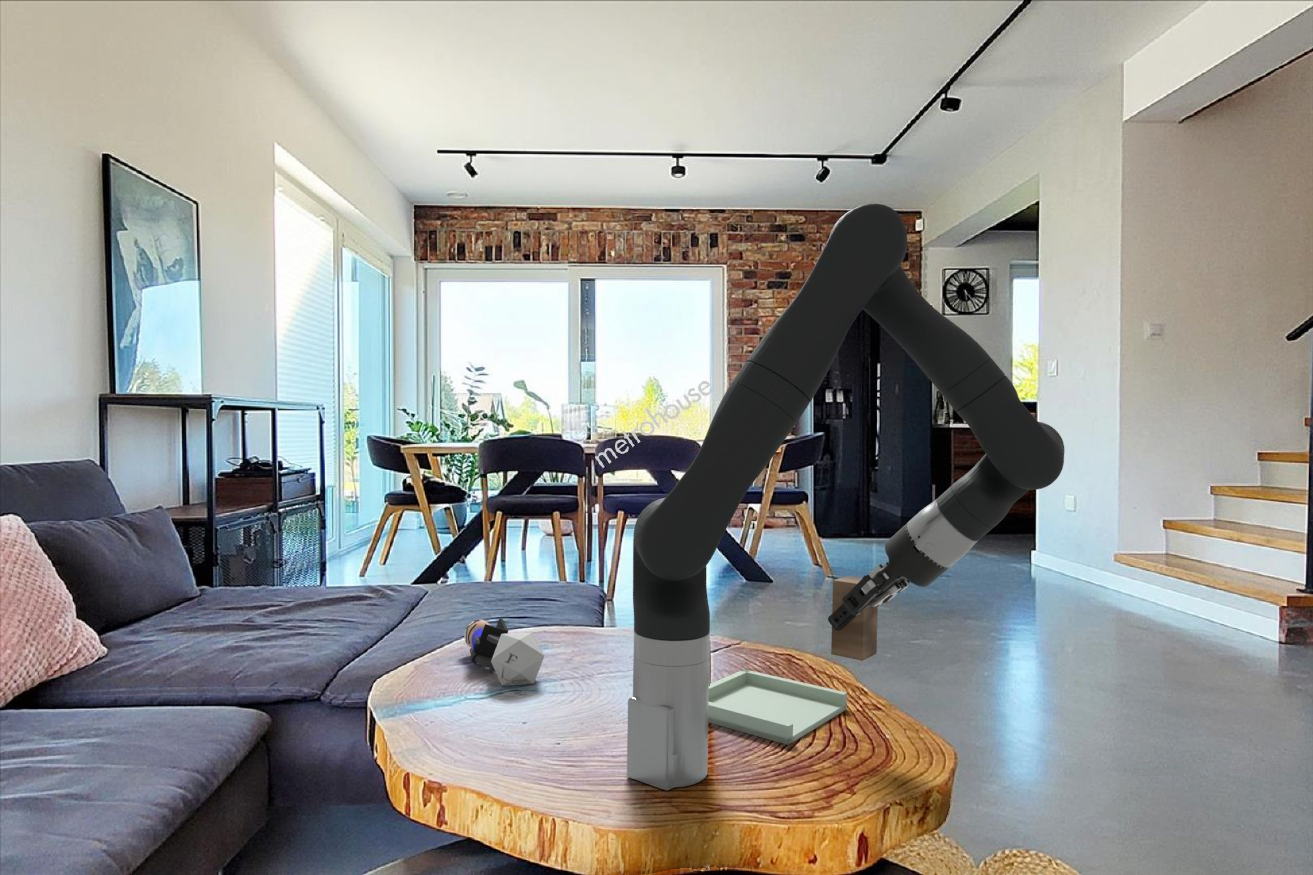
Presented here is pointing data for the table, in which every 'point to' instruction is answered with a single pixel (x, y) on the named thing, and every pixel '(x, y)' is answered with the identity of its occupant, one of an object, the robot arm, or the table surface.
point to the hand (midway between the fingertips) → (841, 621)
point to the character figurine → (483, 640)
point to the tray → (772, 705)
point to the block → (854, 625)
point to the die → (517, 658)
